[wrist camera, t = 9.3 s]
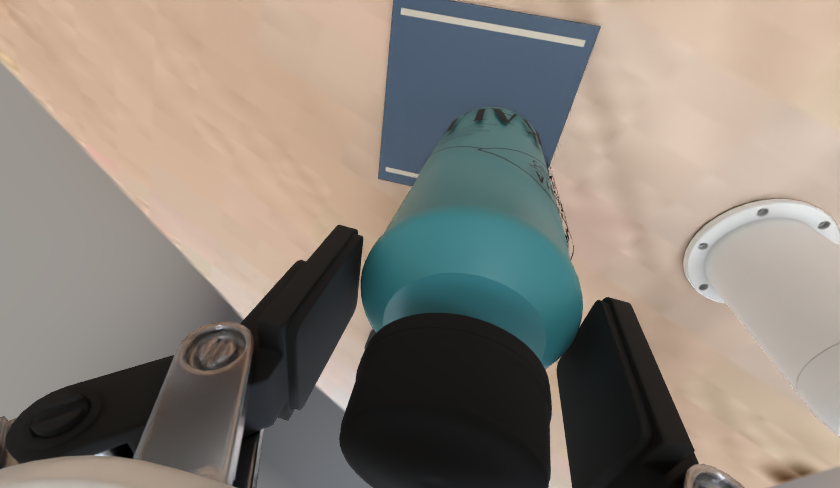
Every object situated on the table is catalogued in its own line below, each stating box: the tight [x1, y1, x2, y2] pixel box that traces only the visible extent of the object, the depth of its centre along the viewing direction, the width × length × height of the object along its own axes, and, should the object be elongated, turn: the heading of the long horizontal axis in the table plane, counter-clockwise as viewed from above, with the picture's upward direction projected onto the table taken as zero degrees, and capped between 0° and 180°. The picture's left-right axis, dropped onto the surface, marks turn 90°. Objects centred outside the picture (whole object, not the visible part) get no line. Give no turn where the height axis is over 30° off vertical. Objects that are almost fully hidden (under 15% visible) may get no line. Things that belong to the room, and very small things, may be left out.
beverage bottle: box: [339, 105, 583, 488], centre depth 14 cm, size 6×7×20 cm
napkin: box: [378, 0, 600, 186], centre depth 35 cm, size 18×18×1 cm
